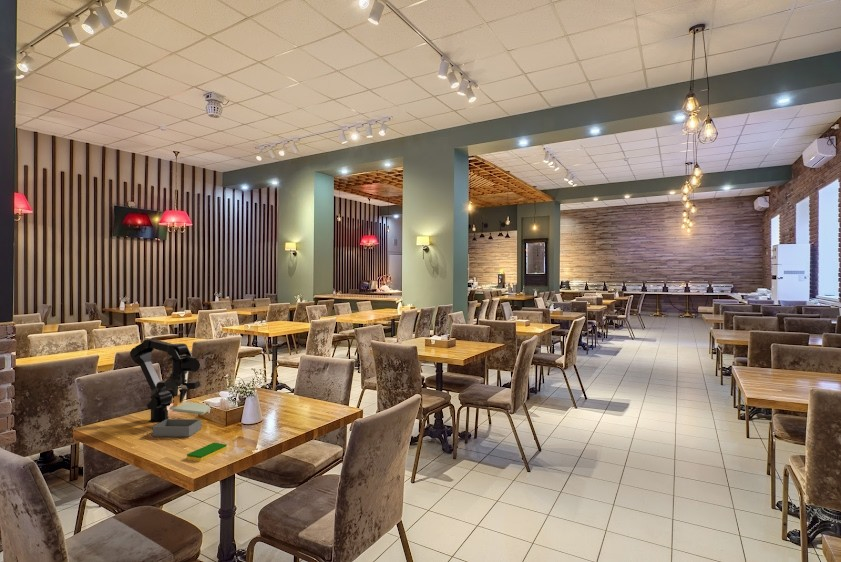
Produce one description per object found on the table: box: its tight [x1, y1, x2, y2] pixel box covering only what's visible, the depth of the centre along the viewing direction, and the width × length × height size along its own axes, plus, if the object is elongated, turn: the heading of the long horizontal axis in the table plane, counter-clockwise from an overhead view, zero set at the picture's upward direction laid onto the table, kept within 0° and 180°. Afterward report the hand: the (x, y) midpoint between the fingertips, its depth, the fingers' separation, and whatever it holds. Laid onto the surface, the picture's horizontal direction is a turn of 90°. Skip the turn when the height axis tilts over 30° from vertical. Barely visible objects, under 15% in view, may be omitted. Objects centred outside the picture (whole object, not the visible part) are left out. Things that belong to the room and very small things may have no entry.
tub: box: [152, 418, 202, 438], centre depth 203 cm, size 16×11×4 cm
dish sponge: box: [186, 442, 228, 462], centre depth 179 cm, size 7×14×2 cm, turn 160°
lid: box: [168, 393, 212, 416], centre depth 217 cm, size 16×11×6 cm
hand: (178, 402), depth 217 cm, fingers closed on lid, 2 cm apart
